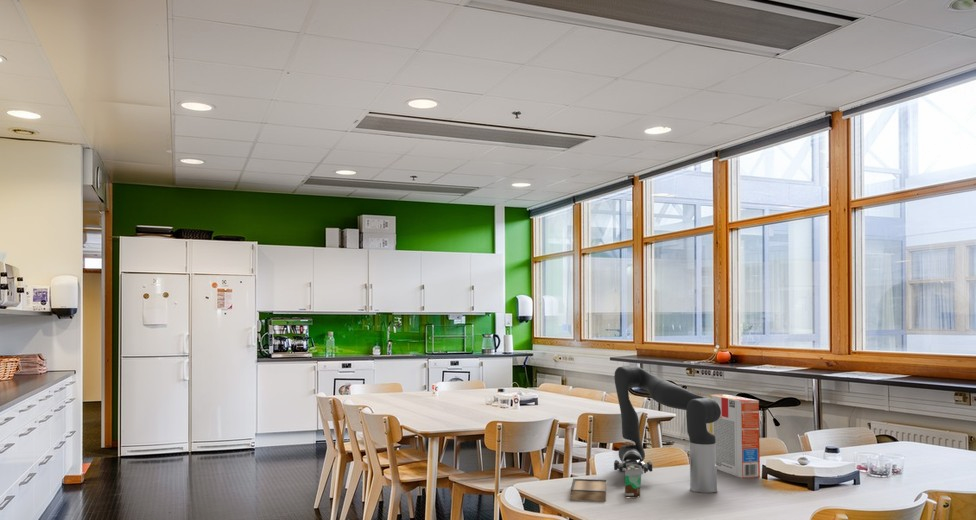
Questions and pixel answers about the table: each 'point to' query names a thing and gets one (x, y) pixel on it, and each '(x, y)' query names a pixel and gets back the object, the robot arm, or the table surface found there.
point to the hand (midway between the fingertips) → (633, 469)
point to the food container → (632, 480)
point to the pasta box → (737, 436)
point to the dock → (588, 490)
